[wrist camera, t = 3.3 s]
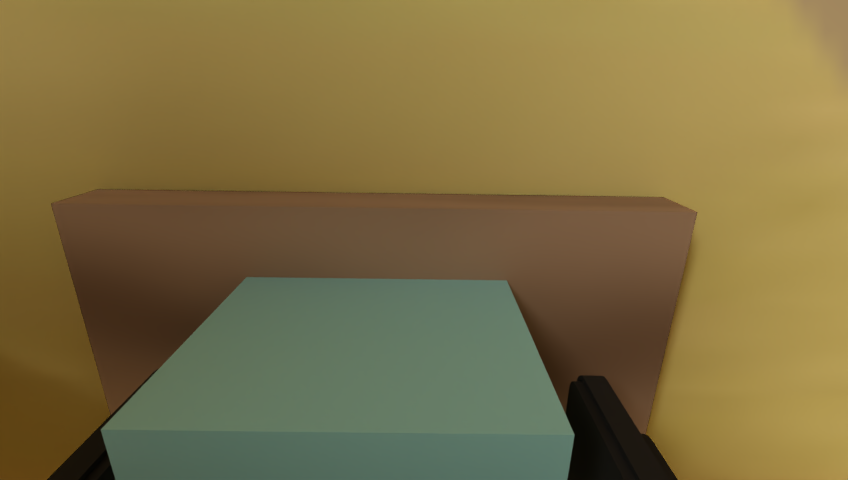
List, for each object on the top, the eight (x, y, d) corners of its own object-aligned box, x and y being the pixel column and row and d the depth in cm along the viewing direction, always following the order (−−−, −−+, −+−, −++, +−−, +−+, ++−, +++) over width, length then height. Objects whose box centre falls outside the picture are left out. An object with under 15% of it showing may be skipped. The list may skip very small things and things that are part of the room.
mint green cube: (246, 277, 10) (100, 429, 6) (506, 280, 10) (573, 434, 6) (273, 475, 13) (182, 706, 8) (489, 477, 13) (529, 710, 8)
